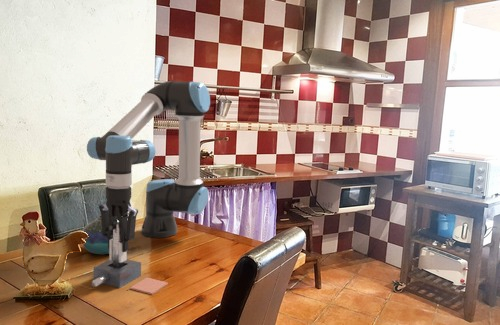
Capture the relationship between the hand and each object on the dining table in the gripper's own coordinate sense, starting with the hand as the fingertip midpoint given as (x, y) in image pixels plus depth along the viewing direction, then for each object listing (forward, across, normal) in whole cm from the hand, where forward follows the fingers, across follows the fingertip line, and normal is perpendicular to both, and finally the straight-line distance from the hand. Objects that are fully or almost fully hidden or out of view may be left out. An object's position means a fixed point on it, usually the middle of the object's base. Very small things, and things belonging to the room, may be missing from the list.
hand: (117, 259), depth 123 cm
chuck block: (+6, 0, -2) cm, 7 cm away
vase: (+6, -20, +16) cm, 27 cm away
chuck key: (+4, 0, 0) cm, 4 cm away
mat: (+6, +12, 0) cm, 13 cm away
